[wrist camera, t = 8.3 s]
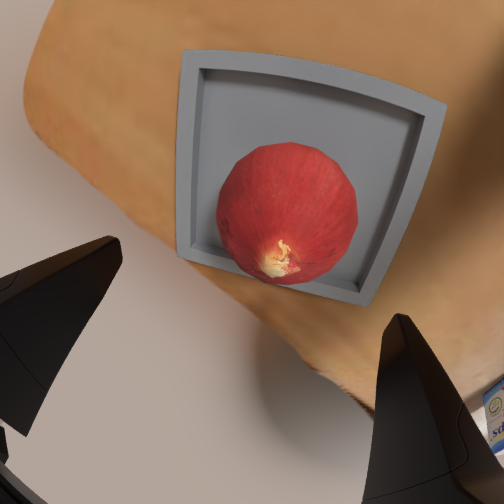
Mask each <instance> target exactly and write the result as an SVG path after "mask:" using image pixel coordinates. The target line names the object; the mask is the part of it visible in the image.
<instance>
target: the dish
mask: <svg viewBox="0 0 504 504" xmlns="http://www.w3.org/2000/svg"><path fill="white" fill-rule="evenodd" d="M447 106H448V105H447V104H444V103H442V102H440V101H438V100H435V99H433V98H431V97H429V96H426V95H424V94H421V93H419V92H416V91H414V90H411V89H409V88H406V87H403V86H401V85H398V84H395V83H392V82H389V81H386V80H383V79H380V78H377V77H374V76H370V75H367V74H364V73H360V72H357V71H353V70H349V69H345V68H341V67H337V66H333V65H329V64H324V63H319V62H314V61H309V60H304V59H298V58H292V57H286V56H279V55H271V54H263V53H253V52H242V51H226V50H183V55H182V65H181V76H180V88H179V102H178V119H177V142H176V242H177V257H180V258H183V259H186V260H190V261H193V262H197V263H200V264H204V265H207V266H211V267H214V268H218V269H222V270H225V271H229V272H232V273H236V274H240V275H243V276H247V277H251V278H254V279H256V278H255V277H253V276H251V275H249V274H247V273H245V272H243V271H242V270H241V269H240V268H239V267H238V265H237V264H236V263H235V262H234V260H233V259H232V258H231V257H230V256H229V254H228V253H227V252H226V251H225V249H224V247H223V245H222V241H221V238H220V234H219V230H218V226H217V223H216V210H217V204H218V198H219V192H220V189H221V187H222V185H223V183H224V182H225V180H226V178H227V177H228V175H229V173H230V172H231V170H232V168H233V167H234V165H235V163H236V162H237V161H239V160H240V159H242V158H243V157H244V156H246V155H247V154H249V153H250V152H251V151H253V150H254V149H256V148H257V147H259V146H265V145H272V144H278V143H286V142H294V143H298V144H302V145H306V146H310V147H314V148H317V149H319V150H320V151H322V152H323V153H324V154H326V155H327V156H329V157H330V158H331V159H333V160H334V161H336V162H337V163H338V164H339V166H340V167H341V169H342V170H343V172H344V173H345V175H346V176H347V178H348V180H349V181H350V183H351V184H352V186H353V187H354V189H355V193H356V201H357V210H358V225H357V228H356V230H355V233H354V235H353V238H352V240H351V242H350V245H349V247H348V250H347V252H346V253H345V254H344V255H343V257H342V258H341V259H340V260H339V261H338V262H337V263H336V265H335V266H334V267H333V268H332V269H331V270H330V271H329V272H327V273H325V274H323V275H321V276H319V277H317V278H315V279H313V280H312V281H310V282H307V283H300V284H293V285H280V284H277V285H280V286H284V287H288V288H292V289H295V290H299V291H303V292H307V293H311V294H315V295H319V296H323V297H327V298H330V299H334V300H338V301H342V302H346V303H350V304H355V305H359V306H363V307H367V308H368V306H369V305H370V303H371V301H372V299H373V297H374V295H375V293H376V292H377V290H378V288H379V286H380V284H381V282H382V280H383V278H384V276H385V274H386V272H387V270H388V268H389V266H390V264H391V262H392V260H393V257H394V255H395V253H396V251H397V249H398V247H399V244H400V242H401V240H402V238H403V236H404V233H405V231H406V229H407V226H408V224H409V221H410V219H411V217H412V214H413V212H414V209H415V207H416V204H417V202H418V199H419V196H420V194H421V191H422V188H423V186H424V183H425V180H426V177H427V174H428V171H429V168H430V165H431V162H432V159H433V156H434V153H435V150H436V147H437V143H438V140H439V136H440V133H441V129H442V126H443V122H444V118H445V114H446V110H447Z"/></svg>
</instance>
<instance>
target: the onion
mask: <svg viewBox="0 0 504 504" xmlns="http://www.w3.org/2000/svg"><path fill="white" fill-rule="evenodd" d="M216 223H217V226H218V230H219V234H220V238H221V241H222V245H223V247H224V249H225V251H226V252H227V253H228V254H229V256H230V257H231V258H232V259H233V260H234V262H235V263H236V264H237V265H238V267H239V268H240V269H241V270H242V271H243V272H245V273H247V274H249V275H251V276H253V277H255V278H256V279H258V280H260V281H262V282H264V283H272V284H280V285H293V284H300V283H307V282H310V281H312V280H313V279H315V278H317V277H319V276H321V275H323V274H325V273H327V272H329V271H330V270H331V269H332V268H333V267H334V266H335V265H336V263H337V262H338V261H339V260H340V259H341V258H342V257H343V255H344V254H345V253H346V252H347V250H348V247H349V245H350V242H351V240H352V238H353V235H354V233H355V230H356V228H357V225H358V210H357V201H356V193H355V189H354V187H353V186H352V184H351V183H350V181H349V180H348V178H347V176H346V175H345V173H344V172H343V170H342V169H341V167H340V166H339V164H338V163H337V162H336V161H334V160H333V159H331V158H330V157H329V156H327V155H326V154H324V153H323V152H322V151H320V150H319V149H317V148H314V147H310V146H306V145H302V144H298V143H294V142H286V143H278V144H272V145H265V146H259V147H257V148H256V149H254V150H253V151H251V152H250V153H249V154H247V155H246V156H244V157H243V158H242V159H240V160H239V161H237V162H236V163H235V165H234V167H233V168H232V170H231V172H230V173H229V175H228V177H227V178H226V180H225V182H224V183H223V185H222V187H221V189H220V192H219V198H218V204H217V210H216Z"/></svg>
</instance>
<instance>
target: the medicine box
mask: <svg viewBox="0 0 504 504" xmlns="http://www.w3.org/2000/svg"><path fill="white" fill-rule="evenodd" d="M483 401H484V407H485V414H486V421H487V429H488V439H489V446H490V448H491V450H492V451H493V453H494V455H495V456H496V455H502V454H504V379H502V380H501V381H500V382H499V383H498V384H497V385H495V386H494V387H493V388H492V389H490V390H489V391H488V392H487V393H485V394H484V396H483Z"/></svg>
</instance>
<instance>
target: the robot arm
mask: <svg viewBox="0 0 504 504" xmlns="http://www.w3.org/2000/svg"><path fill="white" fill-rule="evenodd" d="M122 259H123V257H122V251H121V245H120V241H119V239H118V238H116V237H113V236H105V237H102V238H99V239H97V240H94V241H91V242H88V243H86V244H83V245H80V246H78V247H75V248H72V249H70V250H68V251H65V252H62V253H59V254H57V255H54V256H52V257H49V258H47V259H45V260H42V261H40V262H37V263H35V264H32V265H30V266H28V267H25V268H23V269H21V270H18V271H16V272H14V273H11V274H9V275H6V276H4V277H2V278H0V504H47V503H46V502H45V501H44V500H43V499H41V498H40V497H39V496H38V495H37V494H35V493H34V492H33V491H32V490H31V489H29V488H28V487H27V486H26V485H25V484H24V483H23V482H22V481H20V480H19V479H18V478H17V477H16V476H15V475H14V474H13V473H12V472H11V471H10V470H9V469H8V468H7V467H6V466H5V463H6V461H7V459H8V457H9V456H8V450H7V444H6V437H5V430H4V428H3V427H2V426H1V424H2V423H3V421H4V422H5V423H7V424H8V425H9V426H11V427H12V428H13V429H15V430H16V431H18V432H19V433H21V434H22V435H23V436H25V437H26V436H27V435H28V433H29V431H30V429H31V426H32V424H33V422H34V420H35V418H36V415H37V413H38V411H39V409H40V407H41V405H42V403H43V401H44V399H45V397H46V395H47V393H48V391H49V389H50V387H51V385H52V383H53V381H54V379H55V377H56V375H57V374H58V372H59V370H60V368H61V367H62V365H63V363H64V361H65V359H66V358H67V356H68V354H69V352H70V351H71V349H72V347H73V346H74V344H75V342H76V340H77V339H78V337H79V335H80V334H81V332H82V330H83V329H84V327H85V326H86V324H87V322H88V320H89V319H90V318H91V316H92V315H93V313H94V311H95V310H96V308H97V307H98V305H99V304H100V302H101V300H102V299H103V297H104V295H105V294H106V291H107V290H108V288H109V286H110V284H111V282H112V280H113V279H114V277H115V275H116V273H117V271H118V270H119V268H120V266H121V264H122ZM362 500H363V501H362V503H361V504H504V468H503V467H502V466H501V465H500V463H499V462H498V460H497V458H496V456H495V455H494V453H493V451H492V450H491V448H490V446H489V445H488V443H487V441H486V440H485V438H484V437H483V435H482V433H481V432H480V430H479V428H478V427H477V425H476V423H475V421H474V420H473V418H472V416H471V414H470V413H469V411H468V409H467V407H466V405H465V404H464V403H463V400H462V398H461V397H460V395H459V393H458V392H457V390H456V388H455V386H454V385H453V383H452V381H451V380H450V378H449V376H448V375H447V373H446V372H445V370H444V368H443V367H442V365H441V363H440V362H439V360H438V359H437V357H436V356H435V354H434V353H433V351H432V349H431V348H430V346H429V345H428V343H427V342H426V340H425V339H424V337H423V336H422V334H421V333H420V331H419V330H418V329H417V327H416V326H415V324H414V323H413V321H412V320H411V318H410V317H409V316H408V315H404V314H400V313H397V314H395V315H394V316H393V318H392V319H391V321H390V322H389V324H388V326H387V327H386V329H385V330H384V332H383V336H382V343H381V352H380V360H379V367H378V374H377V383H376V400H375V414H374V425H373V435H372V444H371V451H370V459H369V465H368V472H367V478H366V484H365V489H364V494H363V499H362Z"/></svg>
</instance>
